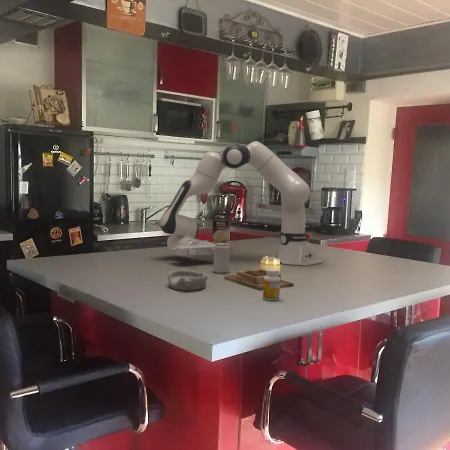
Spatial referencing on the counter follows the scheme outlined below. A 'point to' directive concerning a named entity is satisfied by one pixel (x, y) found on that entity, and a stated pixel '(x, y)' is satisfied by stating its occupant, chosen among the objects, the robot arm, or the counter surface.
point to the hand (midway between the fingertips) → (206, 252)
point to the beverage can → (221, 257)
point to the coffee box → (221, 231)
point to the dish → (187, 280)
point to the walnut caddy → (254, 279)
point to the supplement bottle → (271, 285)
